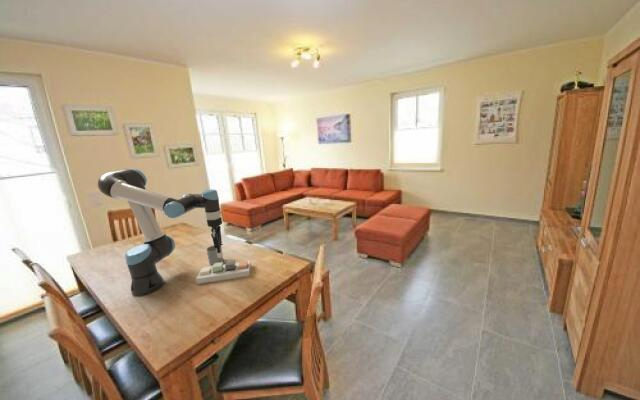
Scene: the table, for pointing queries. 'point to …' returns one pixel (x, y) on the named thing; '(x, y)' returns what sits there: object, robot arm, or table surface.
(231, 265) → the key charcoal
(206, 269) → the key cream
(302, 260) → the table surface
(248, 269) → the keypad
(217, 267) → the key sage
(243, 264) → the key terracotta
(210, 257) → the cup
